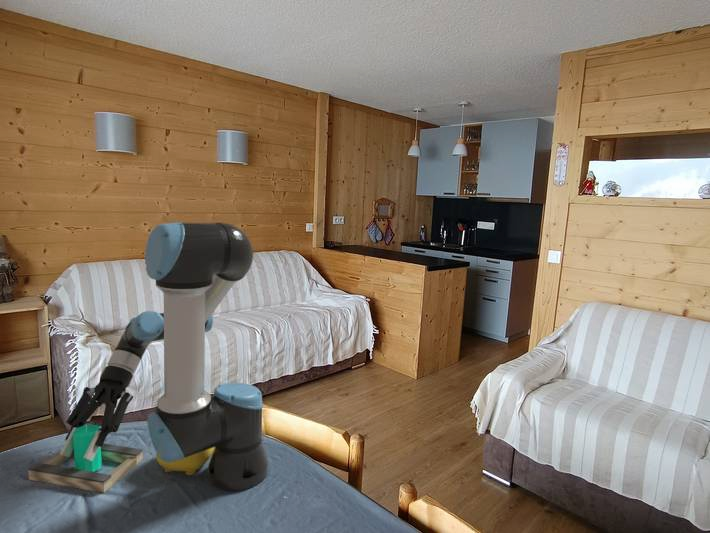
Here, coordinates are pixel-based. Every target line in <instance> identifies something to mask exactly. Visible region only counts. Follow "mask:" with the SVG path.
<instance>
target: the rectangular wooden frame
mask: <svg viewBox="0 0 710 533" xmlns="http://www.w3.org/2000/svg"><path fill="white" fill-rule="evenodd" d="M143 450H144V449H142V448H135V447H129V446H121V445H116V444H109V443H105V442H104V443H103V445H102V446H101V461H108V462H116V463H120V464H119V465H118V466H117V467H115V468H114V469H113V470H112V471H110V472H109V473H102V472H97V471H95V472H91V471H85V470H79V469H75V468H72V467H67V466H60V465H61V464H62V463H64V462H66V461H67V460H68V459H70V458H71V457H73V456H74V449H73V450H72V452H71V454H70V456H69V457H66V456H63V455H61V454H60V452H61V450H60V451H59V452H57V453H56V454H54V455H53V456H51V457H49V458H48V459H47V460H45V461H43V462H36V463H34V464H33V465H31V466H29V467H28V469H27V470H28V471H27V472H28V480H30V481H34V482H35V481H36V482H41V483H48V484H52V485H57V486H63V487H70V488H76V489H80V490H87V491H91V492H97V493H103V494H104V493H106V492H107V491H108V490H109V489H110V488H112V487H113V486H114V485H116V483H117V482H119V481H120V480H121V479H122V478H124V477H125V476H126V475H127V474H128V473H130V472H131V471H132V470H133V469H134V468H135V467H136V466H137V465H139V464H140V463H141V462H142V461H143V460H144V458H143V456H144V455H143V452H144V451H143Z"/></svg>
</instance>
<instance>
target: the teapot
mask: <svg viewBox="0 0 710 533" xmlns="http://www.w3.org/2000/svg"><path fill="white" fill-rule="evenodd" d="M214 448H215V447H213V448H210V449H207V450H205V451H202V452H199V453H196V454H194V455H191V456H188V457H185V459H179V460H176V461H173V462H164V461H162V460H161V459H160V458H159V456H158V455H157V453H156V452H155V453H156V456H155V458H156V461H157V463H158V464H159V465H160V467H162V468H163V469H164V472H166V473H170V472H172V471H174V472H185V474H186V475H188V476H193V475H195V474H196V473H197V470H198V469H199V468H202V466H204V464H206V462H207V461H208V460H210V458H211V457H212V454H213V451H214Z"/></svg>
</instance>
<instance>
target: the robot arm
mask: <svg viewBox="0 0 710 533" xmlns="http://www.w3.org/2000/svg"><path fill="white" fill-rule="evenodd" d="M253 249H254V248H253V244H252V242H251V240H250V239H249V237H248V235H247V234H246V233H245V232H244V231H243V230H242V229H241V228H239V227H237V226H235V225H233V224H230V223H226V222H225V223H224V222H179V221H178V222H169V223H161V224H158V225H156V226H155V227H154V228H153V229H152V230H151V232H150V234H149V235H148V238H147V241H146V246H145V251H144V264H145V265H146V266H145V271H146V274H147V276H148V277H149V278H150V279H152V280H155V286H156V287H157V288H158V289H159V290H160V291H161V292H162V293H163V312H157V311H154V310H145V311H142V312H141V313H140V314H139V315H137V316H136V317H132V318H131V319H130V320H129V322H128V324H127V325H126V326H125V328H124V332H123V333H122V335H121V337H120V339H119V341H118V343H117V344H116V347H115V349H114V351H113V352H112V354H111V356H110V358H109V359H108V361H107V363H106V366H105V367H104V368H103V371H102V373H101V375H100V377H99V382H98V383H97V384H96V385H95V386H94V387H88V386H85V387H84V389H83V391H82V395H81V397H80V398H79V400H78V402H77V403H76V405H75V407H74V408H73V410H72V412H71V413H70V415H69V417H68V418H67V420H66V424H67V425H70V429H69V431H68V433H67V435H66V437H65V439H64V440H65V443H64V444H63V447H62V448H61V450H60V451H61V452H60V451H59V452H60V454H61V455H63V456H66V457H69V456H70V454H71V452H72V450H73V449H74V443H73V432H74V431H75V429H77V428H79V427H81V426H84V425H86V424H87V422H88V420H89V419H90V418H91V417H92V415H93V414H94V413H95V412H96V411H97V409H99V408H100V407H101V406H103V405H104V406H105V407H104V412H103V416H102V422H101V427H100V428H99V430H100V431H96V433H95V435H94V437H93V439H92V441H91V443H90V445H89V447H88V449H87V451H86V453H85V455H84V457H83V458H85V459H87V460H90V461H93V459H94V457H95V455H96V453H97V450H98V448H99V447H101V446H102V445H103V443H104V444H105V441H106V440H107V437H108V436H109V434H112V433H117V432H118V431H119V428H120V427H121V426H120V425H121V423H122V421H123V418H124V415H125V413H126V410H127V409H128V406H129V404H130V403H131V401H132V400H133V399H134V395H132V394H131V392H128V391H127V390H126V389H127V388H128V387H129V385H130V384H131V381H132V379H133V377H134V375H133V374H135V373H136V370H138V367H139V365H140V362H141V361H142V359H143V356H144V354H145V352H146V350H147V349H148V346H149V345H150V344H152V343H153V342H157V341H163V374H164V375H163V376H164V377H163V380H164V382H163V383H164V384H163V386H164V387H163V388H164V389H163V390H164V391H163V392H164V393H163V394H162V395H161V396H160V397H159V398H158V400H157V401H156V411H152V412H151V413H149V414H148V416H147V422H146V423H147V429H148V434H149V437H150V441H151V444H152V446H153V448H154V451H155V453H157V455H158V456H159V458H160V459H161V460H162V461H164V462H173V461H176V460H179V459H185V457H188V456H191V455H194V454H196V453H199V452H202V451H205V450H207V449H210V448H213V447H214V450H213V452H212V454H211V456H210V459H209V460H210V461H209V464H208V466H207V467H208V468H207V479H208V482H209V483H210V484H211V485H212V487H215V488H217V489H218V490H223V491H229V492H230V491H231V492H235V491H236V492H237V491H244V490H247V489H251V488H253V487H254V486H256V485H258V484H260V483H262V482H263V481H264V480H265V479H266V477H267V476H268V473H269V459H268V456H267V453H266V451H265V448H264V445H263V440H262V439H263V438H262V437H263V407H264V404H263V395H262V391H261V390H260V389H259V388H258V387H256V386H254V385H253V384H249V383H244V382H226V383H222V384H219V385H217V386H216V387H214V388H215V389H214V391H213V395H212V396H211V394H210V393H209V392H208V391H207V390H205V368H206V367H205V359H206V358H205V355H206V352H205V350H206V349H205V346H206V345H205V344H206V343H205V342H206V341H205V339H206V336H205V335H206V333H209V332H210V331H211V330H212V328H213V323H214V317H213V313H214V312H215V311H216V309H217V308H218V307H219V305H220V304H221V302H222V301H223V299H224V298H225V297H226V296H227V294H228V293H229V291H230V290H231V289H232V288H233V286H234V284H235V283H236V282H239V281H241V280H243V278H244V277H245V276H246V275H247V274H248V272H249V271H250V269H251V267H252V265H253V264H252V263H253V261H254V260H253V259H254V250H253ZM118 400H119V401H118Z"/></svg>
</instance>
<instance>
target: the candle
mask: <svg viewBox="0 0 710 533" xmlns="http://www.w3.org/2000/svg"><path fill="white" fill-rule="evenodd" d="M99 428H101V427H100V425H97V424H91V423H86V424H84V425H83V426H81V427H79V428H77V429H75V431H74V432H73V443H74V455H73V456H74V457H73V458H74V460H73V461H74V469H79V470H85V471H91V472H97V471H99V470H100V469H101V468H102V466H103V465H102V464H103V463H102V459H101V447H99V448H98V450H97V453H96V455H95V457H94V459H93V461H90V460H87V459H85V458H83V457H84V455H85V453H86V451H87V449H88V447H89V445H90V443H91V441H92V439H93V437H94V435H95V433H96V431H100V430H99ZM100 432H101V431H100Z"/></svg>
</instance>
